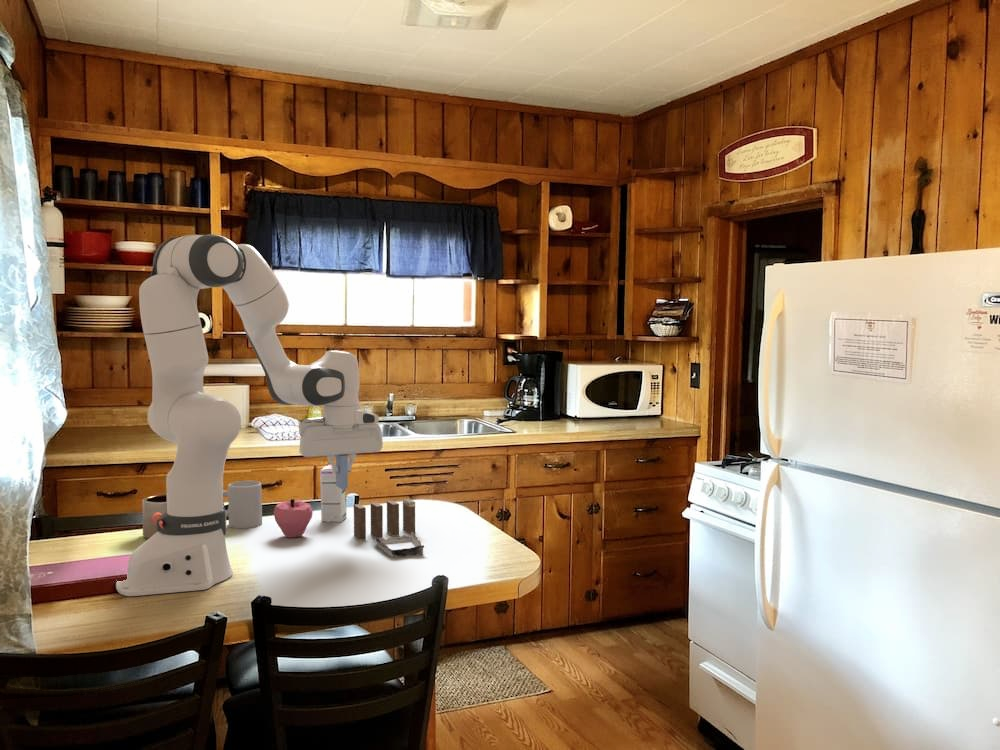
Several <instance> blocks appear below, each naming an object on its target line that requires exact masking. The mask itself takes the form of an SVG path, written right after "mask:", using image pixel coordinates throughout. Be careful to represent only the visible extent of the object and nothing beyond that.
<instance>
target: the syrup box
mask: <svg viewBox="0 0 1000 750" xmlns="http://www.w3.org/2000/svg"><path fill="white" fill-rule="evenodd" d="M319 475H320V476H319V477H320V478H319V479H320V509H321V510H320V512H321V513H320V515H321V522H322V521H333V522H332V523H342V522H343V521H344V520H345V519H346V518H347V492H346V491H347V488H346V489H341V488H339V487H337V486H336V473H332V465H325V466H324V467H322V468H321V469H320V470H319ZM334 521H335V522H334ZM336 521H337V522H336ZM339 521H340V522H339Z"/></svg>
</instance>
